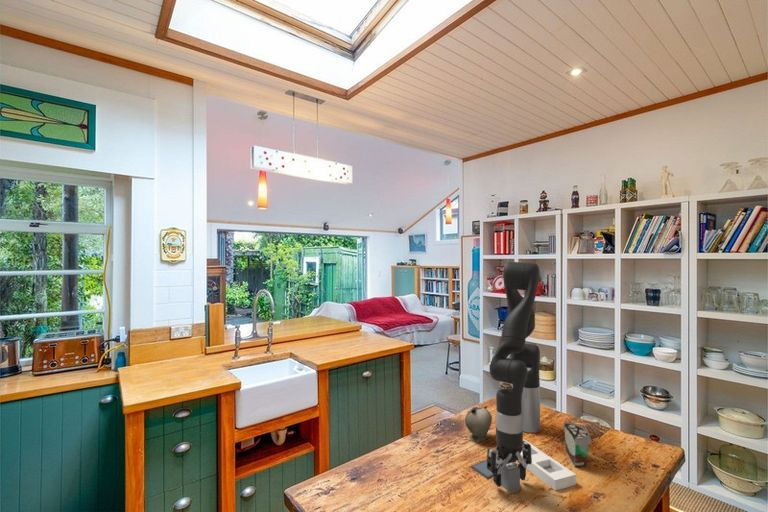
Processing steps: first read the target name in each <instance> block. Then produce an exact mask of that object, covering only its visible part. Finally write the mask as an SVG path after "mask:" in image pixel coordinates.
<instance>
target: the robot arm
mask: <svg viewBox="0 0 768 512" xmlns="http://www.w3.org/2000/svg"><path fill="white" fill-rule="evenodd" d="M540 273H541V272H540V268H539V265H538V264H537V263H533V262H521V261H508V262H506V263H505V265H504V266H503V271H502V281H503V286H504V291H505V296H506V303H507V316H506V318H505V320H504V322H503V325H502V331H501V338H500V342H499V344H498V347H497V349H496V351H495V353H494V355H493V357H492V359H491V361H490V364H489V373H490V376H491V378H492V379H493V380H495V381H497V382H500V383H501V382H502V383H506V384H511V385H512V388H511V387H509V388H500V389H498V390H497V391H496V395H495V397H496V399H495V401H496V407H495V408H496V412H495V441H496V447H495V449H492V448H491V447H489V448H487V451H486V452H487V455H486V460H487V469H488V470H490V471H491V472H492V473H493V477H492V478H493V479H492V480H493V483H494V484H495V485H496V486H497V488H500V487H502V486H501V474H500V473H501V471H502V469H503V468H505V467H506V465H507V464H509V463H511V462H515V463H516V462H517V467H519V468H520V481H525V480H526V478H527V477H526V476H527V468H526V467H527V465H528V464H531V463H532V457H531V445H530V444H531V443H530V444H528V443H527V442H528V441H527V440H526V441H527V442H526V441H523V439H524V436H523V435H524V433H528V434H529V433H530V434H537V433H539V432H541V389H540V388H541V386H540V384H541V383H540V368H541V367H540V364H541V363H540V362H541V352H540V351H541V350H540V348H539V345H538V344H532V343H526V339H527V338H528V337H529V336H530V335H531V334H532V333H533V332H534V331H535V329H536V314H535V310H534V303H535V300H536V296H537V292H538V288H539V283H540V275H541V274H540ZM520 291H525V293H524V296H523V295H522V294H521V293H520ZM508 356H510V358H508ZM528 368H529V370H528ZM521 452H522V453H523V458H522V456H521V455H520V454H521ZM500 458H501V460H502V461H503V462H502V463H501V462H500ZM516 460H517V461H516ZM498 465H499V467H498ZM497 467H498V468H497Z"/></svg>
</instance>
